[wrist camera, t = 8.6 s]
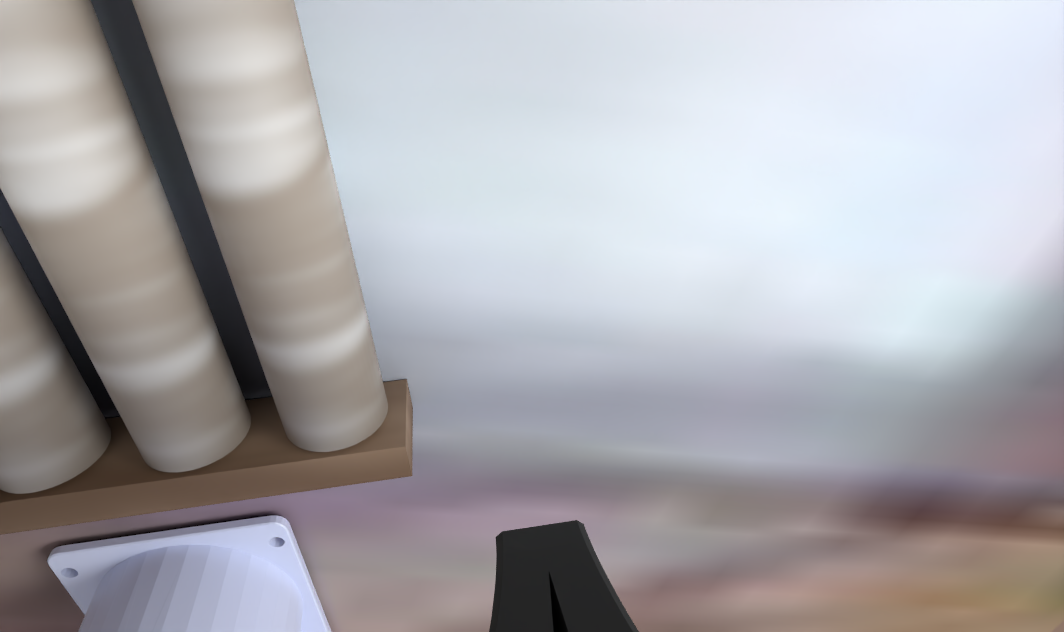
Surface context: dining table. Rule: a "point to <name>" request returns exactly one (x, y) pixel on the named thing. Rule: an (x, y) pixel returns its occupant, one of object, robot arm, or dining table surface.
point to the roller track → (178, 274)
